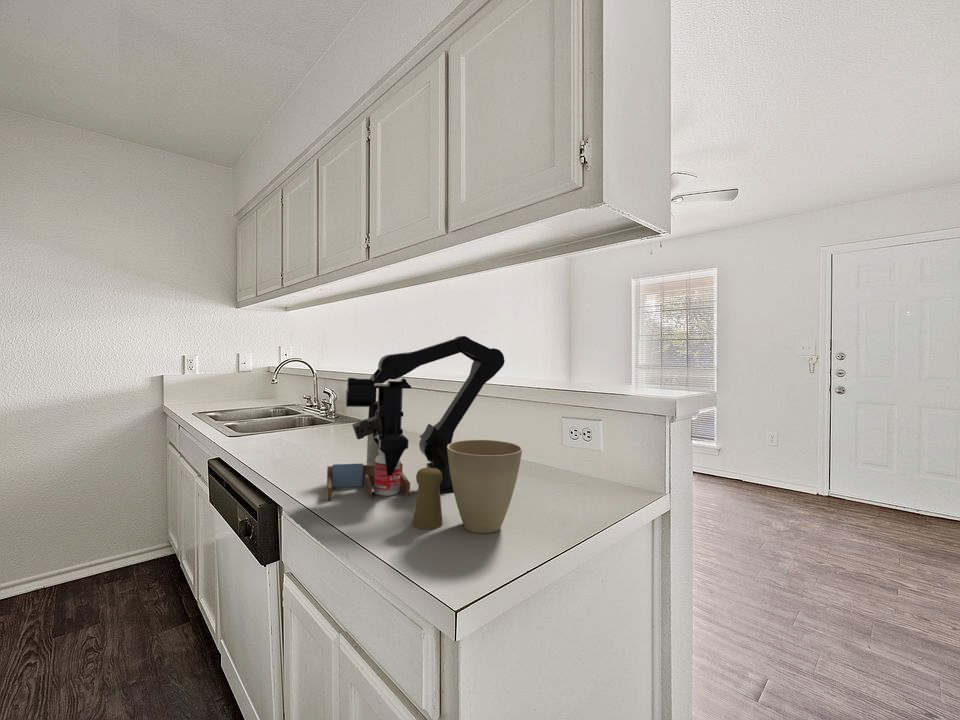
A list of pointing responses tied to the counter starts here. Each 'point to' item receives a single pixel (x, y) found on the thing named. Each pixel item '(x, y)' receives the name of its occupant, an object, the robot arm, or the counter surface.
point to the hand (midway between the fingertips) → (387, 471)
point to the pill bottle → (386, 477)
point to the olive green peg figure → (428, 499)
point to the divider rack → (357, 478)
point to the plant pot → (483, 481)
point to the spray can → (371, 444)
